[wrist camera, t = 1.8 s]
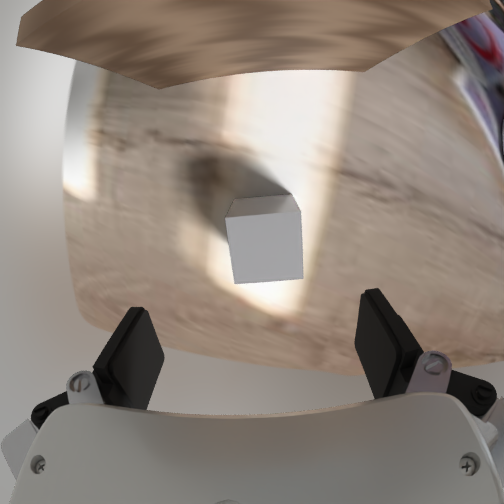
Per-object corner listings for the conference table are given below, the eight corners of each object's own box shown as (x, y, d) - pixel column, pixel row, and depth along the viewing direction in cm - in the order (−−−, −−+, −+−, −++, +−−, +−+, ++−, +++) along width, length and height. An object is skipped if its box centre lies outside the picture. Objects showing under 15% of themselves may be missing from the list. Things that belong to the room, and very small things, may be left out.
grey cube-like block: (291, 193, 23) (300, 211, 17) (295, 247, 25) (303, 278, 19) (234, 198, 23) (224, 217, 18) (240, 251, 25) (234, 284, 20)
